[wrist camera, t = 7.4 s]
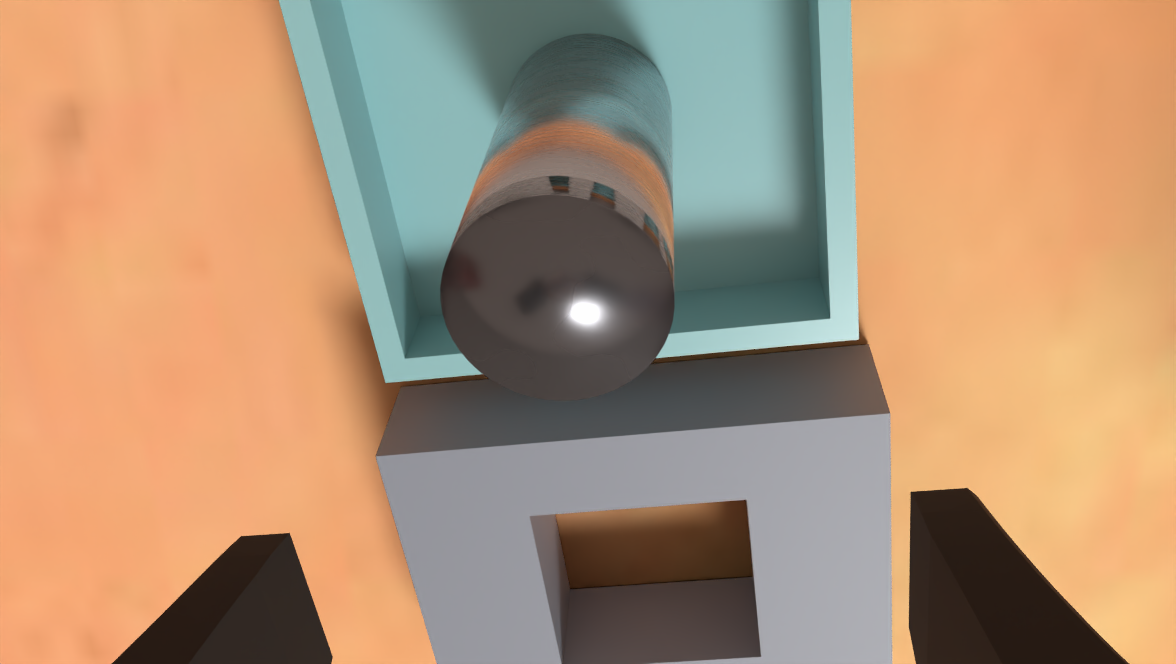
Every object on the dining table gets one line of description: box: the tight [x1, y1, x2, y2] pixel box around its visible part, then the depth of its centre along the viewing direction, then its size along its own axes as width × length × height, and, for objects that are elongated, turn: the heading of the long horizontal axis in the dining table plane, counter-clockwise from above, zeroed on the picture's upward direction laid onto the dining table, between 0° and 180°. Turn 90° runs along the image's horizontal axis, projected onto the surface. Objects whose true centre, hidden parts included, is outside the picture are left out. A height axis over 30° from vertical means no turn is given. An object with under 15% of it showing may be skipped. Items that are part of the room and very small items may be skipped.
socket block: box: [376, 344, 892, 664], centre depth 25 cm, size 10×8×2 cm
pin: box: [440, 33, 675, 401], centre depth 17 cm, size 3×3×7 cm
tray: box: [279, 0, 859, 383], centre depth 20 cm, size 9×9×2 cm
